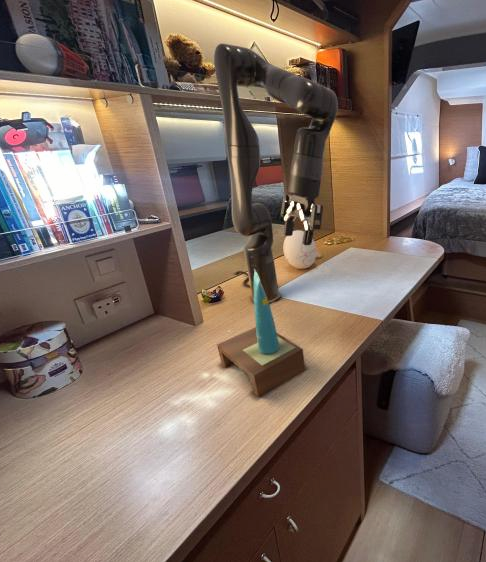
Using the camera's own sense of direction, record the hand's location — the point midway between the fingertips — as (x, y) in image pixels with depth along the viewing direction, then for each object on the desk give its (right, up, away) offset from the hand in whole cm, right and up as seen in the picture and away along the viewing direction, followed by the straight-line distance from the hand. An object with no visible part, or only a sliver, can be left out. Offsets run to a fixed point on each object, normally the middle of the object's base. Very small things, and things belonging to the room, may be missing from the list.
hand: (297, 240), depth 87 cm
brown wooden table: (-8, -32, -2) cm, 33 cm away
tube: (-5, -27, -6) cm, 28 cm away
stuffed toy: (-7, -4, +63) cm, 64 cm away
